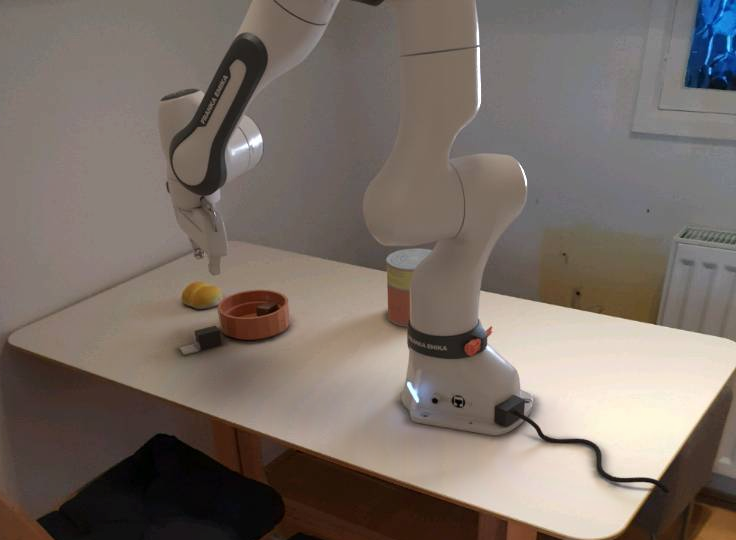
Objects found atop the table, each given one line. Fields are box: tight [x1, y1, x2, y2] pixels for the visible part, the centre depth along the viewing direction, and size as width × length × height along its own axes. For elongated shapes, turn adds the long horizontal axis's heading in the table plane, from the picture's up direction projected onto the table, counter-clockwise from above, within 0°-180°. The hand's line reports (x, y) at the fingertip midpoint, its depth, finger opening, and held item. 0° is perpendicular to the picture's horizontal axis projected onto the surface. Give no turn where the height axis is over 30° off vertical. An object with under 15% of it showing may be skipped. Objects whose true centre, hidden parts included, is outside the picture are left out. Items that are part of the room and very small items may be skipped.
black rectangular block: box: [179, 325, 223, 356], centre depth 161 cm, size 8×3×3 cm, turn 116°
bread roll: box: [181, 281, 224, 310], centre depth 178 cm, size 8×9×4 cm
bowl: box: [217, 289, 291, 341], centre depth 167 cm, size 14×14×5 cm
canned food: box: [385, 247, 433, 328], centre depth 165 cm, size 11×11×12 cm
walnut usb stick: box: [256, 302, 278, 317], centre depth 166 cm, size 8×3×3 cm, turn 155°
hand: (207, 265), depth 154 cm, fingers open, 8 cm apart
